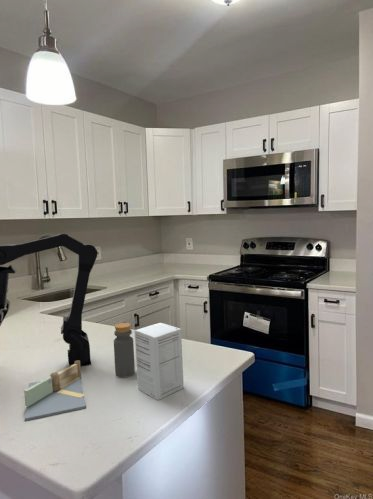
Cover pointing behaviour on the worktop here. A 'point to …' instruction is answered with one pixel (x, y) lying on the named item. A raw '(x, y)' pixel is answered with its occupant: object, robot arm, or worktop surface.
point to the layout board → (58, 401)
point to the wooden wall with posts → (65, 376)
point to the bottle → (124, 351)
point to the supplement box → (159, 360)
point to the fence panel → (38, 391)
